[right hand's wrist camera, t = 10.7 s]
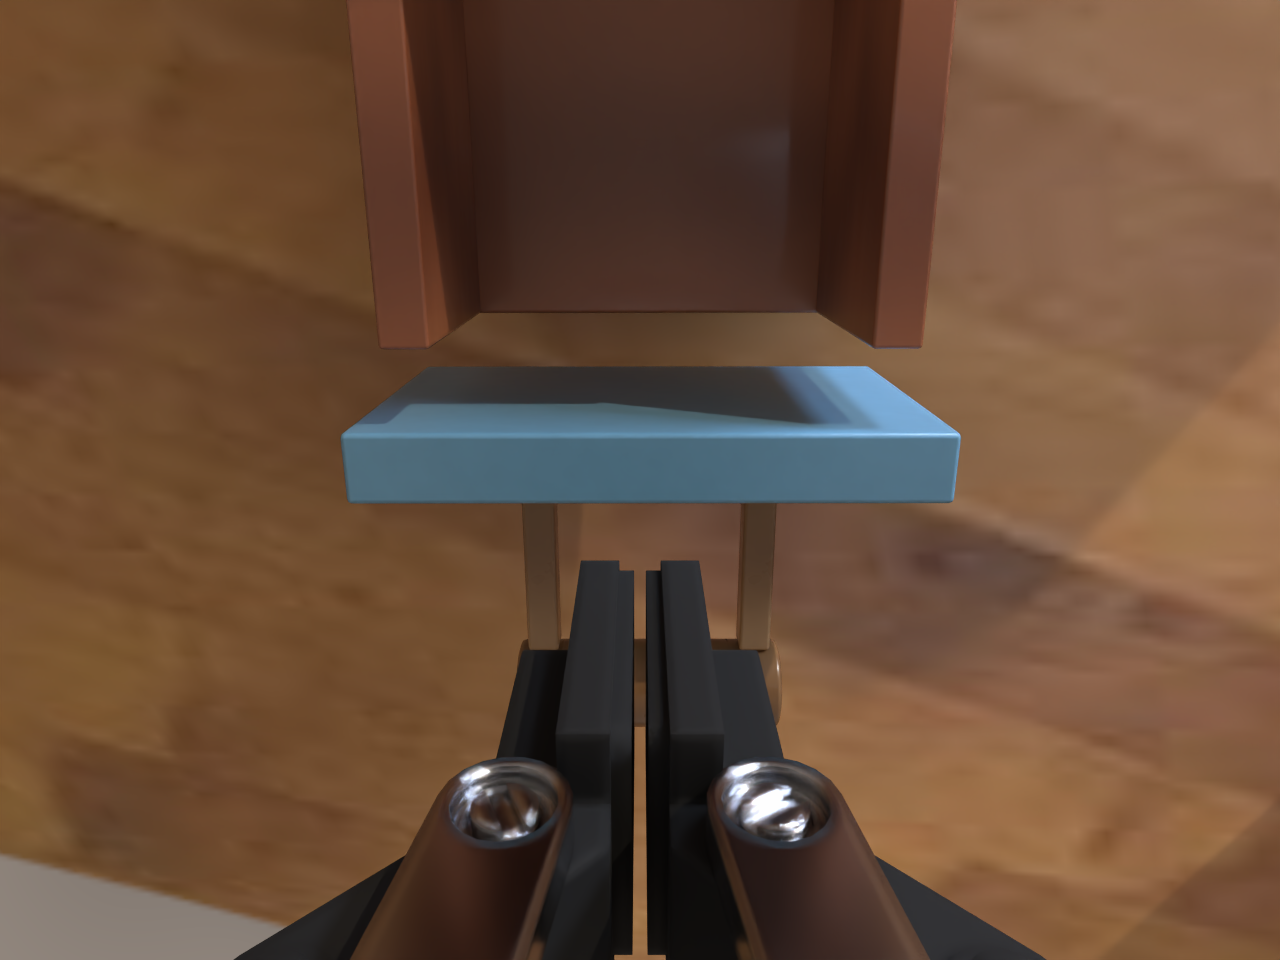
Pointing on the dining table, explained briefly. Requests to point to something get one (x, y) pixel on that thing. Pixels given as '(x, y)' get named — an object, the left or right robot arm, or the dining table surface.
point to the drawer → (651, 257)
